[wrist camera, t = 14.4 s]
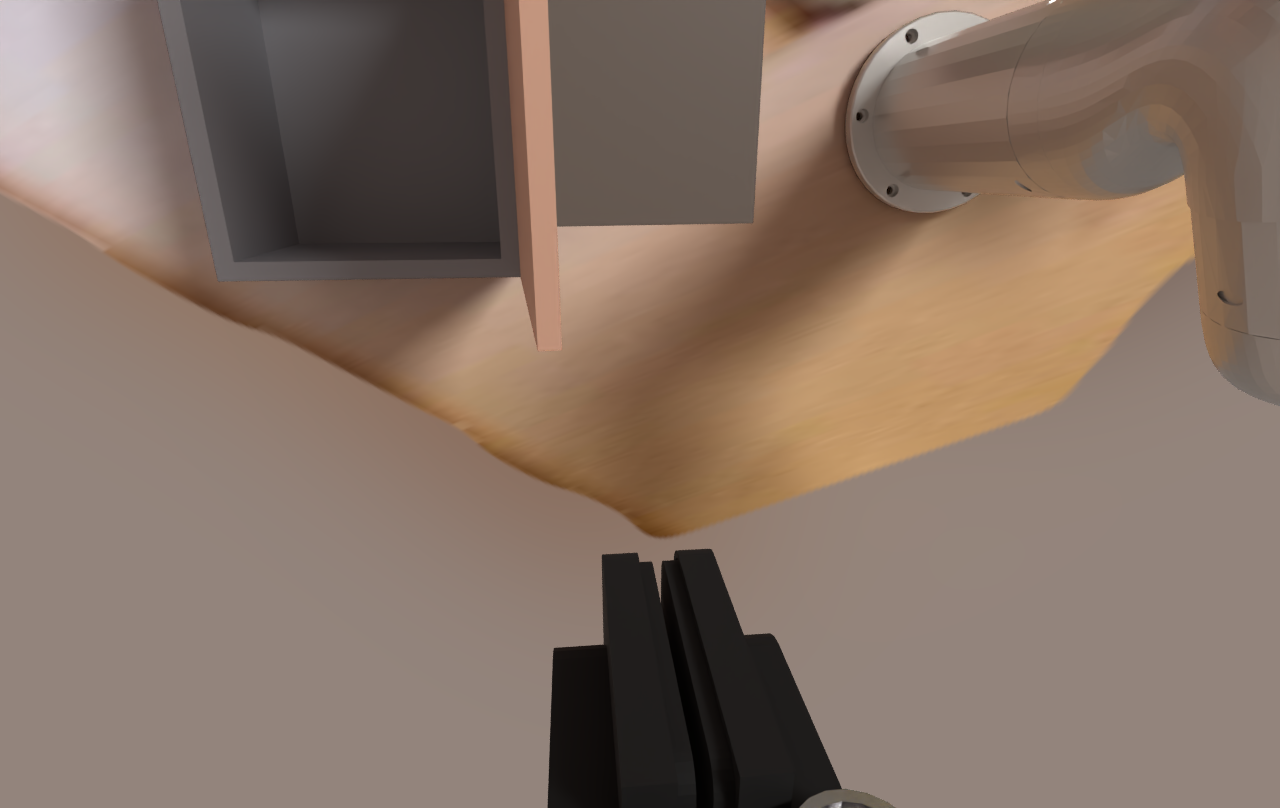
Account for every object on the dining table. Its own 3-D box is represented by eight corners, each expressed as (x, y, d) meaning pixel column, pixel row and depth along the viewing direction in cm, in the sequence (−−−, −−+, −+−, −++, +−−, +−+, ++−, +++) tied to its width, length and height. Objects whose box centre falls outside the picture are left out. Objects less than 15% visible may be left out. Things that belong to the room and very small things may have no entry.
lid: (490, -223, 29) (651, -205, 30) (520, 277, 37) (648, 273, 38) (485, -624, 14) (797, -554, 16) (538, 351, 22) (746, 340, 23)
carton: (510, -127, 39) (490, -222, 29) (530, 254, 46) (520, 277, 37) (222, -139, 37) (104, -243, 28) (292, 257, 44) (218, 281, 35)
